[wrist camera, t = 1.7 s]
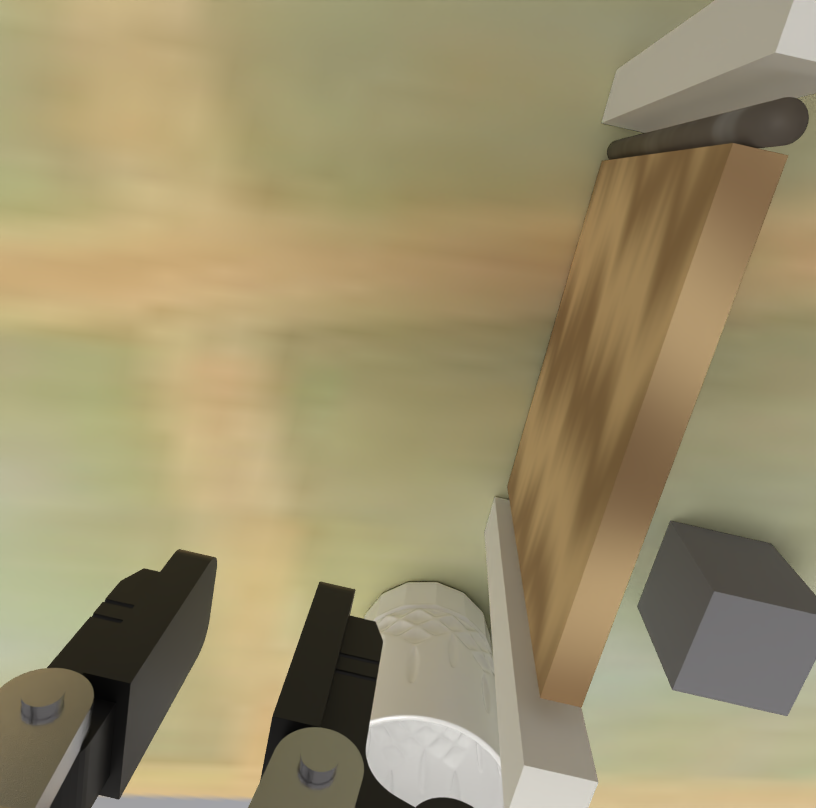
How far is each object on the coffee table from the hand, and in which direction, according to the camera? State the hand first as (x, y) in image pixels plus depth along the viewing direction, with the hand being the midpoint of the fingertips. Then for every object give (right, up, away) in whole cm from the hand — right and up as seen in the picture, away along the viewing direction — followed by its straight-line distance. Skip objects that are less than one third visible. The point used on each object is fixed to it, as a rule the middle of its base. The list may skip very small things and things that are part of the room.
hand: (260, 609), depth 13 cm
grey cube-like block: (+17, -5, +20) cm, 27 cm away
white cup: (+4, -8, +23) cm, 24 cm away
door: (+11, +7, +17) cm, 21 cm away
